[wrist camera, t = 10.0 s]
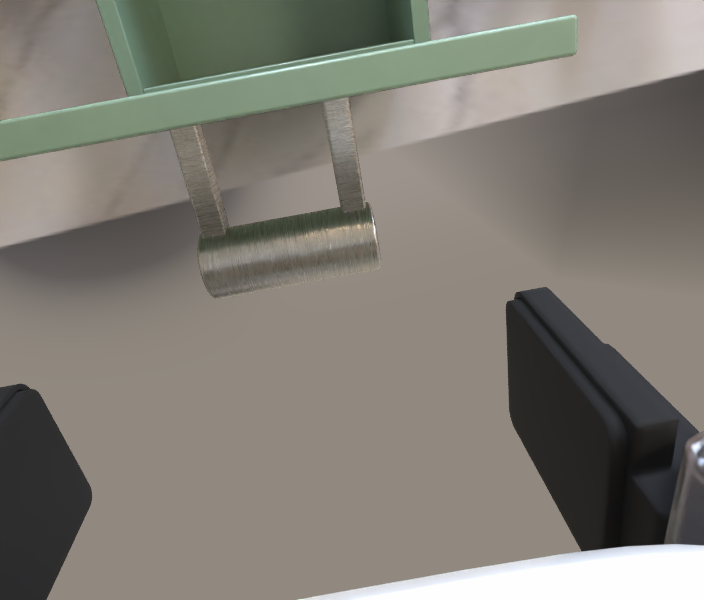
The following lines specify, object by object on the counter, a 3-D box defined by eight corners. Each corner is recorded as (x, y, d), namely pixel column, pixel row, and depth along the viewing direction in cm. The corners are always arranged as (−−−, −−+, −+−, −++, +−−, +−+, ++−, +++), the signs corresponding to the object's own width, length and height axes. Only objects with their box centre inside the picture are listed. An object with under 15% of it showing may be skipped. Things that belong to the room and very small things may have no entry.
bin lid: (-99, 139, 11) (18, 368, 13) (578, 13, 11) (575, 267, 13) (126, 101, 24) (165, 221, 26) (433, 45, 24) (445, 169, 26)
